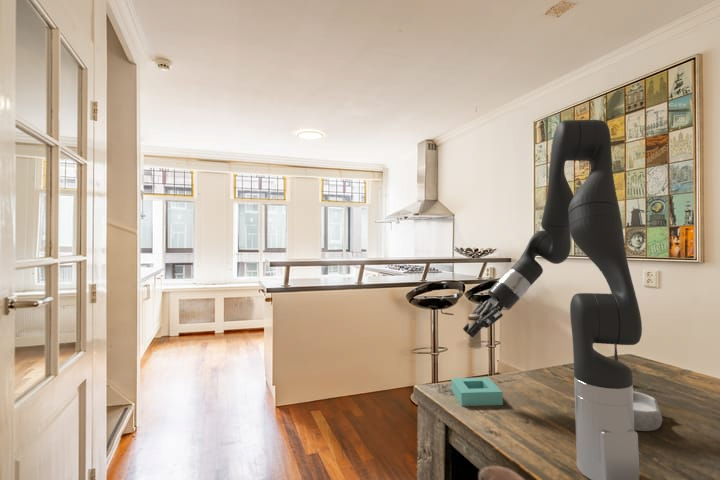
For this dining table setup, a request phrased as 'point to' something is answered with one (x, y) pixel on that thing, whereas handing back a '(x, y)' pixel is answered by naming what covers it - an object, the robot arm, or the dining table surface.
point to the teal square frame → (476, 391)
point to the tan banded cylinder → (476, 340)
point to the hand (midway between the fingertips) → (467, 333)
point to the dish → (646, 412)
